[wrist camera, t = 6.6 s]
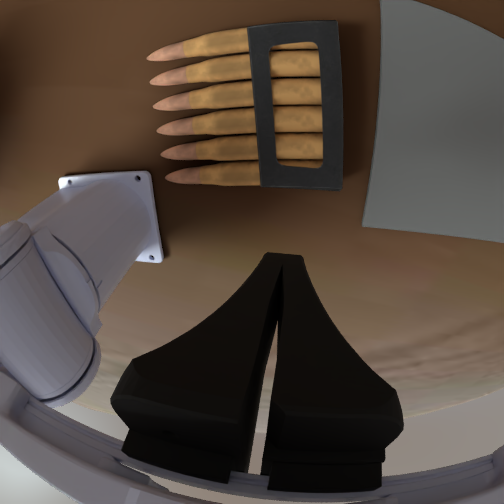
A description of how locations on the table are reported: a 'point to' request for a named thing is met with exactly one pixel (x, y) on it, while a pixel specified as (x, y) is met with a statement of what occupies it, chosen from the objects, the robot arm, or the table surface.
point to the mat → (438, 126)
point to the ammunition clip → (260, 106)
